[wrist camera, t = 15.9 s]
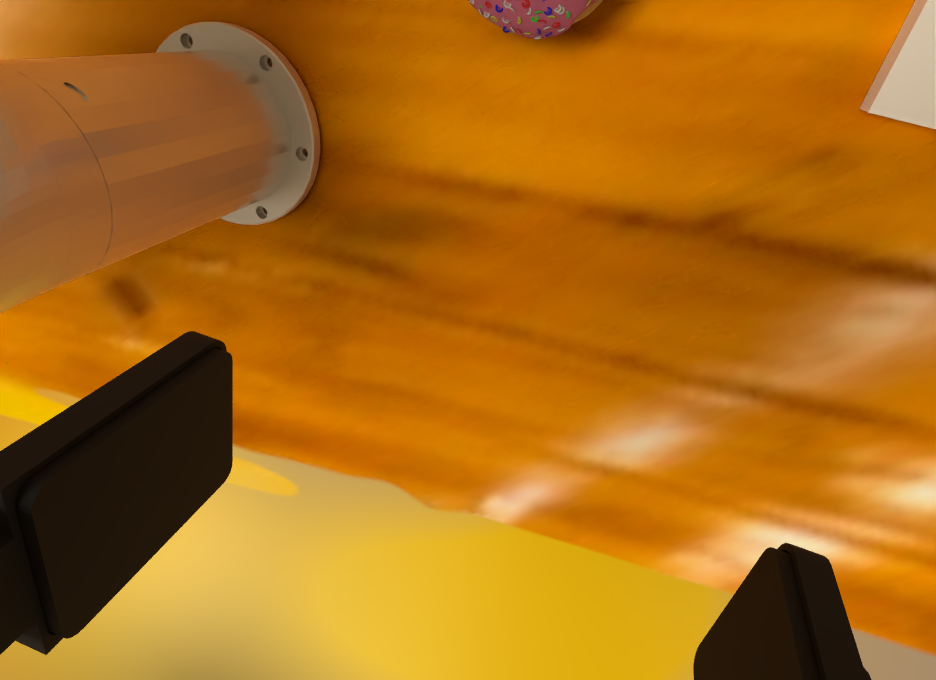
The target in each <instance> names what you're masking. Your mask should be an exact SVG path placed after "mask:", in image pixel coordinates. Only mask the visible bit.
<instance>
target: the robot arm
mask: <svg viewBox="0 0 936 680" xmlns="http://www.w3.org/2000/svg"><path fill="white" fill-rule="evenodd" d="M271 60H272V64H271ZM306 150H307V152H308V154H307V152H306ZM319 158H320V132H319V126H318V122H317V117H316V112H315V109H314V106H313V104H312V101H311V98H310V96H309V93H308V91H307V89H306V87H305V85H304V84H303V82H302V80H301V78H300V76H299V75H298V73H297V71H296V70H295V69H294V68H293V66H292V65H291V64H290V62H289V61H288V60H287V59H286V57H285V56H284V55H283V54H282V53H281V52H280V51H279V50H278V49H276V48H275V47H274V46H273V45H272V44H271V43H270V42H269V41H267V40H266V39H264V38H263V37H261V36H260V35H258V34H256V33H255V32H253V31H251V30H249V29H246V28H244V27H241V26H239V25H236V24H231V23H225V22H218V21H217V22H197V23H193V24H189V25H185V26H183V27H182V28H180V29H178V30H176V31H174V32H173V33H171V34H170V35H169V36H168V37H167V38H166V39H165V40H164V41H163V42H162V43H161V44H160V46H159V47H158V49H157V50H156V52H155V53H137V54H116V55H95V56H74V57H53V58H32V59H11V60H0V313H2V312H4V311H6V310H8V309H10V308H12V307H14V306H16V305H18V304H21V303H23V302H25V301H27V300H29V299H32V298H34V297H36V296H38V295H40V294H43V293H45V292H47V291H49V290H52V289H54V288H56V287H58V286H61V285H63V284H65V283H68V282H70V281H73V280H75V279H77V278H80V277H82V276H84V275H87V274H89V273H92V272H94V271H97V270H99V269H101V268H104V267H106V266H109V265H111V264H113V263H116V262H118V261H120V260H123V259H125V258H127V257H130V256H132V255H134V254H137V253H139V252H141V251H144V250H146V249H148V248H151V247H153V246H155V245H158V244H160V243H162V242H165V241H167V240H169V239H172V238H174V237H176V236H179V235H181V234H183V233H186V232H188V231H190V230H193V229H195V228H197V227H200V226H202V225H204V224H207V223H209V222H211V221H214V220H216V219H218V218H220V219H222V220H225V221H227V222H231V223H236V224H240V225H260V224H264V223H269V222H272V221H274V220H277V219H279V218H281V217H283V216H285V215H286V214H288V213H289V212H291V211H292V210H294V209H295V208H296V207H297V206H298V205H299V204H300V203H301V202H302V201H303V200H304V199H305V198H306V196H307V194H308V192H309V191H310V189H311V187H312V185H313V183H314V180H315V177H316V174H317V171H318V166H319ZM231 468H232V356H231V354H230V353H228V352H227V351H226V346H225V344H224V343H223V342H222V341H220V340H217V339H214V338H211V337H208V336H206V335H203V334H200V333H197V332H194V331H189V332H187V333H185V334H183V335H182V336H180V337H178V338H177V339H175V340H174V341H172V342H171V343H169V344H167V345H166V346H164V347H163V348H161V349H160V350H158V351H157V352H155V353H153V354H152V355H150V356H149V357H147V358H146V359H144V360H142V361H141V362H139V363H138V364H136V365H135V366H133V367H131V368H130V369H128V370H127V371H125V372H124V373H122V374H120V375H119V376H117V377H116V378H114V379H113V380H111V381H110V382H108V383H106V384H105V385H103V386H102V387H100V388H99V389H97V390H95V391H94V392H92V393H91V394H89V395H88V396H86V397H84V398H83V399H81V400H80V401H78V402H77V403H75V404H74V405H72V406H70V407H69V408H67V409H66V410H64V411H63V412H61V413H59V414H58V415H56V416H55V417H53V418H52V419H50V420H48V421H47V422H45V423H44V424H42V425H41V426H39V427H37V428H36V429H34V430H33V431H31V432H30V433H28V434H27V435H25V436H23V437H22V438H20V439H19V440H17V441H16V442H14V443H12V444H11V445H10V446H8V447H6V448H5V449H3V450H1V451H0V654H1V653H3V652H4V651H5V650H6V649H7V648H8V647H9V646H10V645H11V644H12V643H13V642H14V641H15V640H16V641H17V642H19V643H21V644H24V645H26V646H28V647H30V648H32V649H34V650H37V651H39V652H41V653H43V654H45V655H46V654H48V653H49V652H50V651H51V649H53V648H54V647H55V645H57V644H58V643H59V642H60V641H61V640H62V639H63V638H71V637H73V636H74V635H76V634H78V633H79V632H80V631H81V630H82V629H83V628H84V627H85V626H86V625H87V624H88V623H89V622H90V621H91V620H92V619H93V618H94V617H95V616H96V615H97V613H99V612H100V611H101V610H102V608H103V607H104V606H105V605H106V604H107V603H108V602H109V601H110V600H111V599H112V598H113V597H114V596H115V595H116V594H117V593H118V592H119V591H120V590H121V589H122V588H123V587H124V586H125V585H126V584H127V583H128V582H129V580H131V578H132V577H133V576H134V575H135V574H136V573H137V572H138V571H139V570H140V569H141V568H142V567H143V566H144V565H145V564H146V563H147V562H148V561H149V560H150V559H151V558H152V557H153V555H155V554H156V553H157V552H158V551H159V550H160V548H161V547H162V546H163V545H164V544H165V543H166V542H167V541H168V540H169V539H170V538H171V537H172V536H173V535H174V534H175V533H176V532H177V531H178V530H179V529H180V528H181V527H182V526H183V524H184V523H186V522H187V521H188V519H189V518H190V517H191V516H192V515H193V514H194V513H195V512H196V511H197V510H198V509H199V508H200V507H201V506H202V505H203V504H204V503H205V502H206V501H207V500H208V499H209V498H210V497H211V495H213V494H214V493H215V492H216V490H217V489H218V488H219V487H220V486H221V485H222V484H223V483H224V482H225V481H226V479H227V477H228V476H229V474H230V471H231ZM694 680H871V678H870V675H869V673H868V672H867V671H866V670H865V669H864V667H863V665H862V662H861V658H860V655H859V652H858V649H857V646H856V642H855V639H854V636H853V633H852V630H851V627H850V623H849V620H848V617H847V614H846V611H845V607H844V604H843V601H842V598H841V595H840V591H839V588H838V585H837V582H836V579H835V575H834V572H833V569H832V566H831V564H830V562H829V560H828V559H827V558H826V557H825V556H822V555H820V554H817V553H814V552H811V551H808V550H806V549H803V548H800V547H797V546H794V545H792V544H788V543H784V544H782V545H781V546H780V547H779V548H778V549H775V548H771V547H769V548H767V549H766V550H765V551H764V552H763V554H762V555H761V557H760V558H759V559H758V561H757V562H756V564H755V565H754V567H753V568H752V570H751V571H750V572H749V574H748V575H747V577H746V578H745V580H744V581H743V583H742V584H741V585H740V587H739V588H738V590H737V591H736V593H735V594H734V596H733V597H732V599H731V600H730V601H729V603H728V605H727V606H726V607H725V609H724V610H723V612H722V613H721V614H720V616H719V617H718V619H717V620H716V622H715V623H714V625H713V626H712V627H711V629H710V630H709V632H708V633H707V635H706V636H705V638H704V639H703V641H702V642H701V643H700V645H699V647H698V649H697V651H696V655H695V659H694Z"/></svg>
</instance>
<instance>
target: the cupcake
mask: <svg viewBox="0 0 936 680" xmlns="http://www.w3.org/2000/svg"><path fill="white" fill-rule="evenodd" d="M468 1H469V2H470V3H471V4H472V6H473V7H474V8H475V9H476V10H477V11H478V12H479V13H480V14H481V15H482V16H484V17H485V18H486V19H488V20H489V21H490V22H492V23H493V24H495V25H497V26H498V27H500V28H502V29H503V31H504V32H506V33H508V32H510V33H514V34H518V35H521V36H525V37H528V38H534V39H541V38H547V37H552V36H556V35H559V34H561V33H563V32H565V31H566V30H568V29H569V28H570V27H571V25H572V24H574V23H576V22H578V21H580V20H581V19H583V18H585V17H586V16H588V15H589V14H590V13H592V12H593V11H594V10H595V9H596V8H597V7H598V6H599V5H600V4H601V2H602V1H603V0H468ZM505 30H506V31H505Z"/></svg>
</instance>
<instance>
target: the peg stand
mask: <svg viewBox="0 0 936 680" xmlns="http://www.w3.org/2000/svg"><path fill="white" fill-rule="evenodd" d="M860 109H861V110H863V111H866V112H868V113H872V114H876V115H880V116H884V117H888V118H892V119H896V120H900V121H904V122H908V123H912V124H916V125H920V126H924V127H928V128H932V129H936V0H916V1H915V3H914V5H913V6H912V8H911V10H910V12H909V14H908V16H907V18H906V20H905V22H904V24H903V26H902V28H901V30H900V31H899V33H898V35H897V37H896V39H895V41H894V43H893V45H892V47H891V49H890V51H889V53H888V55H887V57H886V58H885V60H884V62H883V64H882V66H881V68H880V70H879V72H878V74H877V76H876V78H875V80H874V82H873V84H872V85H871V87H870V89H869V91H868V93H867V95H866V97H865V99H864V101H863V103H862V105H861V107H860Z"/></svg>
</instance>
